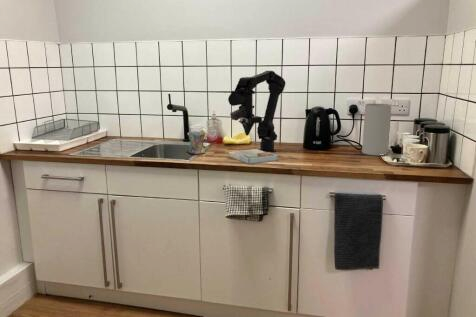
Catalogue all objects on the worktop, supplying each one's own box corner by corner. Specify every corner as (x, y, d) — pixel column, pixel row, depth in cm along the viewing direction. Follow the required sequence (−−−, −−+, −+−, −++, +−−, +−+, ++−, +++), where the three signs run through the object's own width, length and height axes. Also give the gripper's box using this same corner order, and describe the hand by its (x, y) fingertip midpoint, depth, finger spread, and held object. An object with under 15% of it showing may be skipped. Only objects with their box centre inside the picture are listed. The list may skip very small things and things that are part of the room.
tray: (267, 156, 199) (267, 151, 199) (277, 160, 191) (277, 155, 191) (239, 160, 192) (239, 155, 191) (248, 164, 184) (248, 159, 184)
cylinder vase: (376, 157, 198) (380, 106, 192) (356, 152, 208) (359, 104, 202) (392, 154, 204) (396, 105, 198) (372, 149, 214) (376, 103, 209)
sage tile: (252, 158, 194) (252, 153, 193) (257, 160, 189) (257, 155, 189) (243, 159, 192) (243, 154, 191) (248, 161, 187) (248, 156, 187)
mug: (191, 150, 213) (190, 131, 211) (208, 151, 212) (207, 131, 209) (183, 155, 202) (183, 135, 200) (201, 156, 200) (200, 135, 198)
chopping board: (256, 152, 209) (256, 148, 208) (267, 156, 199) (267, 152, 199) (229, 155, 201) (229, 152, 201) (239, 160, 192) (239, 156, 191)
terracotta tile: (266, 157, 197) (266, 152, 197) (271, 159, 193) (272, 154, 192) (257, 158, 195) (257, 153, 194) (263, 160, 190) (263, 155, 190)
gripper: (223, 103, 198) (223, 134, 202) (242, 106, 182) (242, 140, 186) (242, 101, 203) (242, 131, 207) (262, 105, 188) (262, 137, 192)
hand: (247, 135), depth 198 cm, fingers closed
